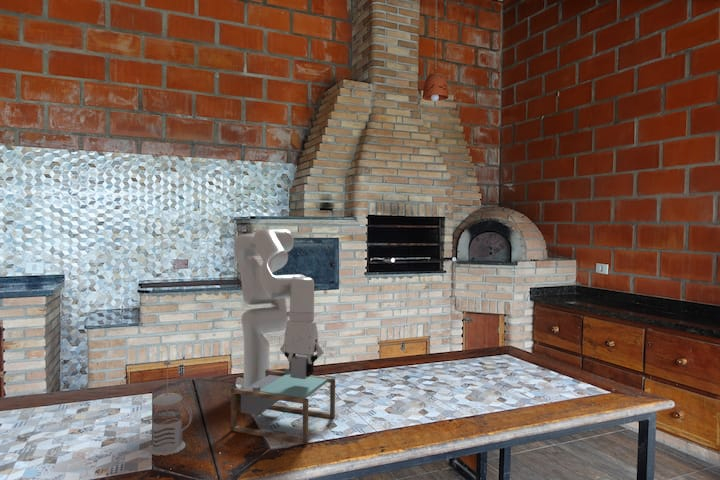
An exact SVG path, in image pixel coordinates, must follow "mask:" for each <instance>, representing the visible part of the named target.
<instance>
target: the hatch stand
mask: <svg viewBox="0 0 720 480" xmlns="http://www.w3.org/2000/svg"><path fill="white" fill-rule="evenodd" d="M286 374H290V370H289V367H285V369H284V371H281V370H274V369H269V370H265V377H266V376H268V375H275V376H284V375H286ZM309 377H315V378H323V379H327V383H329V385H330V387H329V388H330V389H329V393H330V394H329V400H330V401H329V412H325V411H319V410H313V409H309V398H299V397H293V396H286V395H279V394H273V393H266V392H260V386H254V387H253V390H246V389H240V388H241V387H239V388H238V387H232V388H231V389H230V431H231V430H232V431H231V432H236V431H237V433H242V434H248V435H253V436H259V437H262V438H269V439H273V440H278V441H279V440H280V441H284V442H290V443H295V444H301V445H305V446H306V445H308V444H309V416H314V417H321V418H328V419H335V418H336V413H335V412H336V377H335V378H333V377H326V376H319V375H313V374H312V375H311V376H309ZM241 394H243V395H249V396H256V397H262V398H269V399H275V400H279V401H281V402H290V403H295V404H302V407H295V406H288V405H283V404H277V403H275V404H273V405H272V406H270V407H269V408H268V409H272V410H273V409H274V410H276V411H277V410H279V411H284V412H289V413H291V412H292V413H296V414H302V437H301V436H295V435H294V436H293V435H288V434H284V433H283V434H282V433H279V432H278V433H277V432H271V431H267V430H261V429H257V428H256V429H255V428H250V427H245V426H240V425H238V424H237V423H238V422H237V418H238V417H237V416H238V415H237V410H238V408H237V407H238V406H237V404H238V403H237V402H238V401H237V398H238V397H237V396H238V395H241Z"/></svg>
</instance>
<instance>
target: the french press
mask: <svg viewBox="0 0 720 480" xmlns="http://www.w3.org/2000/svg"><path fill="white" fill-rule="evenodd" d="M171 363H172V362H171V360H169V359H166V360H164V361H163V365H165V366H166V392H165V393H161V394H159V395H157V396H155V398H152V399H151V400H152V401H151V403H152V405H153V406H156V407H166V409H161V410H158V411H156V412H155V413H154V414H153V418H152V441H151V442H152V445H151V446H150V447H149V448H148V453H149V454H151V455H154V456H160V455H163V456H170V455H174V454H177V453H178V452H181V451H183V450H184V449H185V447H186V442H184V440H183V431H185V430H186V429H187V428H188V427H189V426H190V424H191V422H192V419H193V410H192V408H191V406H189V404H187V403H185V402H182V400H183V396H182V395H180V394H178V393H176V392H175V393H174V392H169V388H168V387H169V384H168V382H169V381H168V380H169V371H168V370H169V368H168V367H169V366H168V365H171ZM180 402H182V403H181V404H180V406H179V409H177V408H168V407H169V406H175V405H177V404H179V403H180ZM186 406H187V407H186ZM183 408H185V409H186V410H187V411H188V415H189V421H188V424H186V425H185V426H184V427H183V423H182V422H183V416H182V415H181V413H182V411H181V410H182V409H183ZM176 418H177V419H176ZM166 421H167V422H166ZM164 422H165V423H164ZM161 423H162V424H161ZM180 450H181V451H180ZM173 453H174V454H173ZM169 454H170V455H169Z"/></svg>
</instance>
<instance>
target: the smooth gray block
mask: <svg viewBox="0 0 720 480" xmlns="http://www.w3.org/2000/svg"><path fill="white" fill-rule="evenodd" d="M307 364H308V360H307V356H306V355H300V354H296V356H294V357H292V358H291V367H290V377H292V378H299V379H306V378H308V377H307V376H306V367H307ZM310 376H311V375H310Z"/></svg>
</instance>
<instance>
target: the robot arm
mask: <svg viewBox="0 0 720 480" xmlns="http://www.w3.org/2000/svg"><path fill="white" fill-rule="evenodd" d="M233 242H234V243H233V252H234V253H233V254H234V257H235V260H236V263H237V266H238V268H239V273H240V281H241V282H240V283H241V291H242V292H241V293H242V298H243V301H244V303H245V304H246V305H248V306H261V305H270V306H271V307H270V306H268V307H258V308H250V309H247V310H246V311H244V313H242V315H241V321H240V322H241V328H242V334H243V336H242V337H243V377H237V378H236V380H235V385H239V386H240V387H239V388H240V389H245V388H247V387H248V386H250V385H252V384H254V383H256V382H257V381H259V380H261V379H263V378H264V377H265V370H270V343H269V340H267V338H265V336H264V334H269V333H275V332H281V331H284V340H283V344H282V345H281V346H280V348H279V350H280V352H281V353H283V354H284V356H285V358H286V359H287V361H288V363H289V364H288V365H289V367H288V368H289V370H290V367H291V358H292V357H294V356H296V355H297V354H300V355H306V356H307V360H308V364H307V367H306V376H307V377H309V376H310V375H313V373H314V370H315V369H314V366H315V365H314V362H316V361H317V360H318V359H319V358H320V357H322V356H323V355H324V351H323V349H322V347H321V346H320V344H319V334H318V327H317V321H316V320H315V281H314V279H313V278H312V277H309V276H306V275H304V274H299V273H297V274H295V273H293V274H276V275H275V274H273V273H275V272H276V271H278V270H280V269H282V268H284V266H285V265H287V262H288V261H289V255H288V253H289V252H290V251H291V250H292V249H293V248H294V244H295V243H294V242H295V239H294V236H293V233H292V232H291V231H290V230H288V229H285V228H263V229H260V230H257V231H256V232H255V233H245V234H244V233H243V234H241V235H238V236H237V237H236V238H235V240H234V241H233ZM256 256H257V257H260V259H261V260H262V263H261V264H260V262H259V261H258V260H257V259H256V258H255V257H256ZM286 299H289V310H287V309H288V307H287V301H286ZM315 353H316V354H315Z"/></svg>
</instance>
